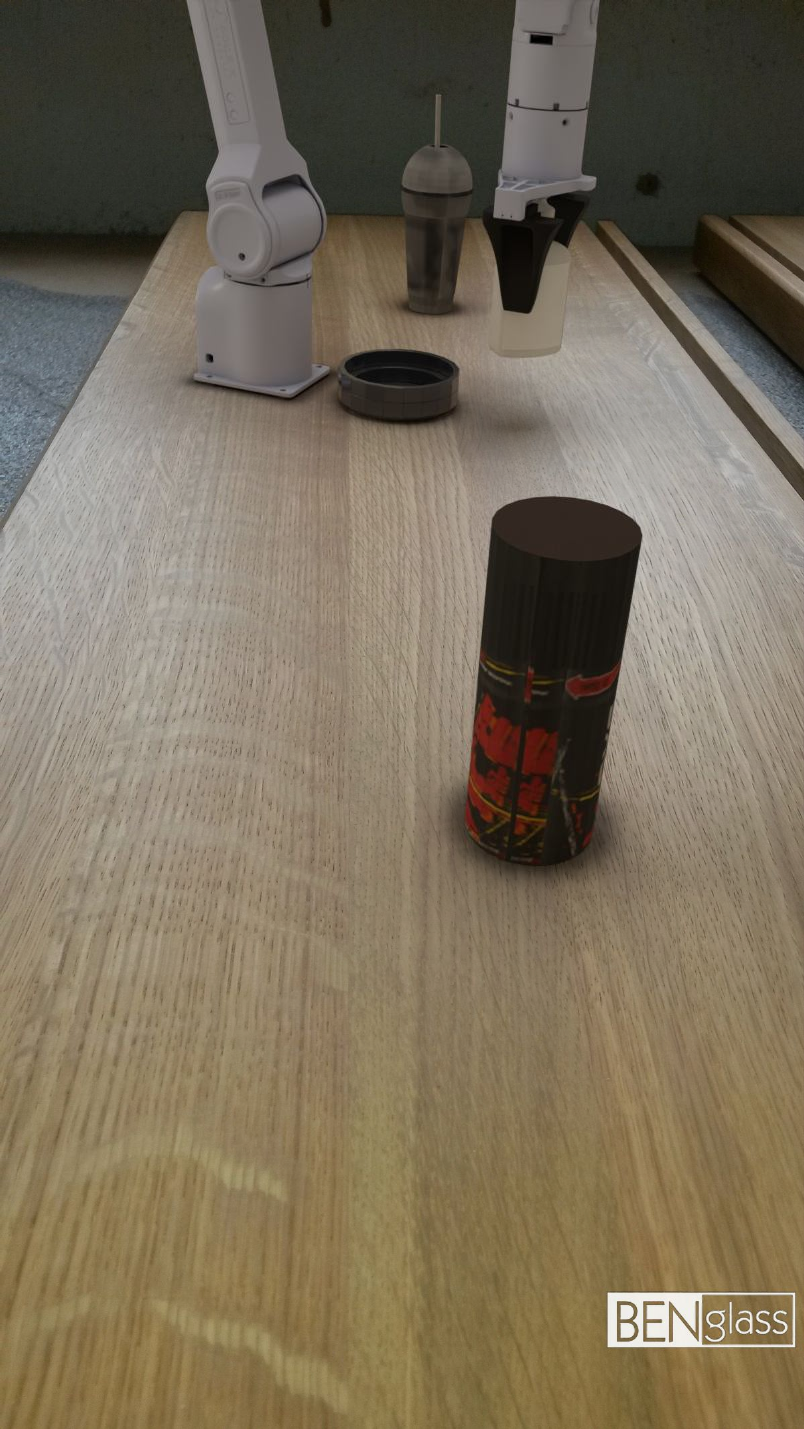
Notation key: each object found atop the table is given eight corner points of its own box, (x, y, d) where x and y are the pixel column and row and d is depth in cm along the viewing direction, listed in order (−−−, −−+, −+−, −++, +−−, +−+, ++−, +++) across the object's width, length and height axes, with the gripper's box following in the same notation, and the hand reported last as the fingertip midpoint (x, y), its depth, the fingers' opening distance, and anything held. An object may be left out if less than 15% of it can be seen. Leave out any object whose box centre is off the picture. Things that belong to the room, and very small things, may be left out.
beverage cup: (473, 303, 128) (489, 92, 117) (453, 321, 123) (468, 101, 111) (408, 294, 130) (417, 85, 119) (385, 311, 124) (393, 94, 113)
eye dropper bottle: (559, 363, 93) (578, 196, 86) (486, 357, 94) (499, 190, 87) (561, 346, 97) (580, 184, 90) (491, 340, 97) (504, 179, 91)
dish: (318, 410, 100) (318, 374, 98) (367, 375, 108) (368, 342, 106) (431, 432, 97) (433, 395, 95) (473, 394, 105) (476, 360, 103)
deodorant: (457, 785, 59) (481, 495, 50) (578, 783, 59) (622, 496, 51) (473, 867, 54) (503, 561, 45) (605, 863, 54) (659, 561, 46)
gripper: (574, 124, 79) (550, 335, 86) (628, 99, 90) (603, 287, 97) (471, 113, 81) (457, 320, 88) (536, 90, 92) (519, 275, 100)
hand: (528, 302), depth 93 cm, fingers closed on eye dropper bottle, 5 cm apart
